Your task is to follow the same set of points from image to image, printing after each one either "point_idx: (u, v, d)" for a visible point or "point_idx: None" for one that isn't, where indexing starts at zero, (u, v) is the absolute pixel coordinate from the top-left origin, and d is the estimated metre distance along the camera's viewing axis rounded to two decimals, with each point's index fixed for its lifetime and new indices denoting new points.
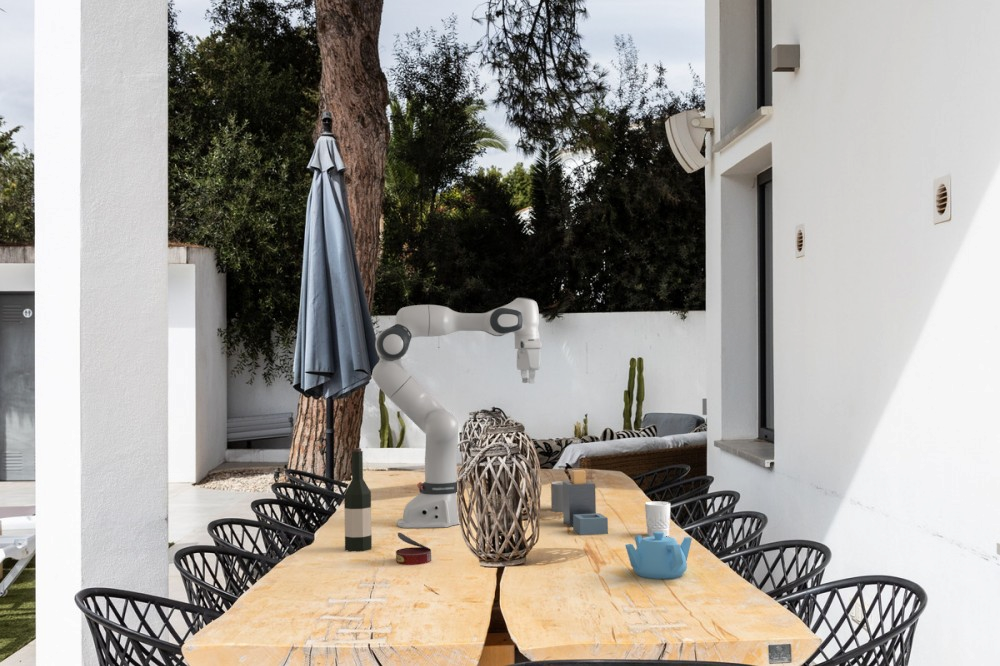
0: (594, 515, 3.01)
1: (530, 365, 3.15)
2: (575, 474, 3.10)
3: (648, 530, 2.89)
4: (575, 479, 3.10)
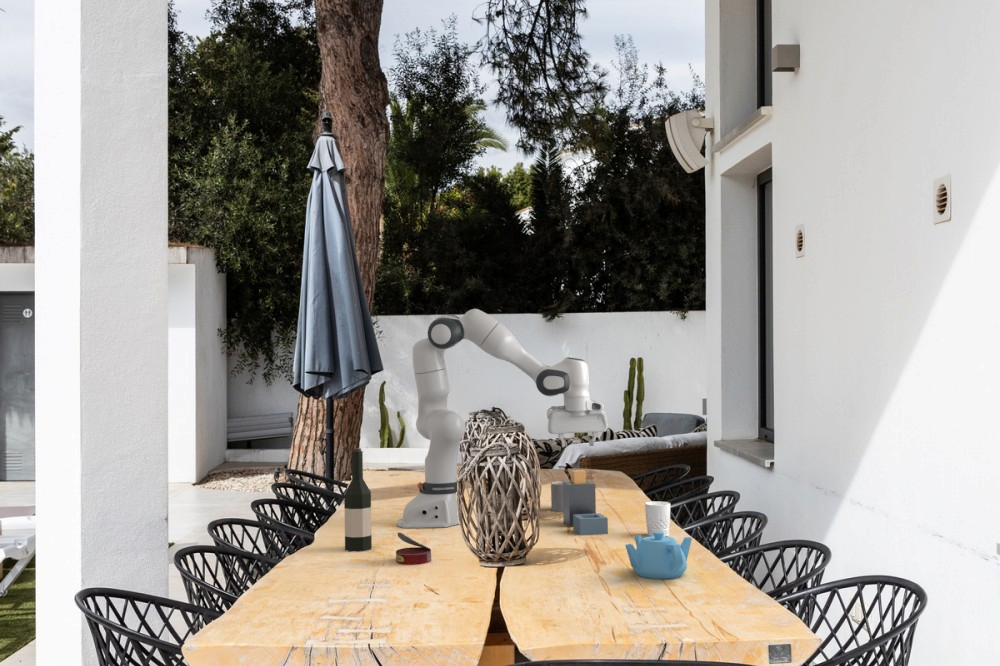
0: (594, 515, 3.01)
1: None
2: (575, 474, 3.10)
3: (648, 530, 2.89)
4: (575, 479, 3.10)
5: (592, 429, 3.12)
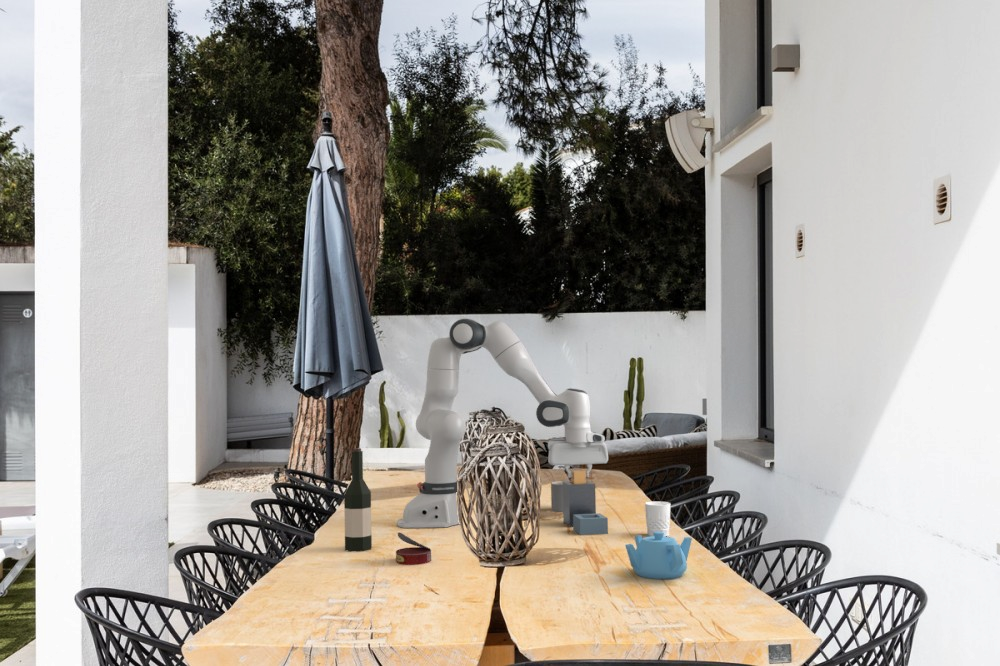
0: (594, 515, 3.01)
1: (607, 458, 3.13)
2: (575, 474, 3.10)
3: (648, 530, 2.89)
4: (575, 479, 3.10)
5: (593, 461, 3.11)
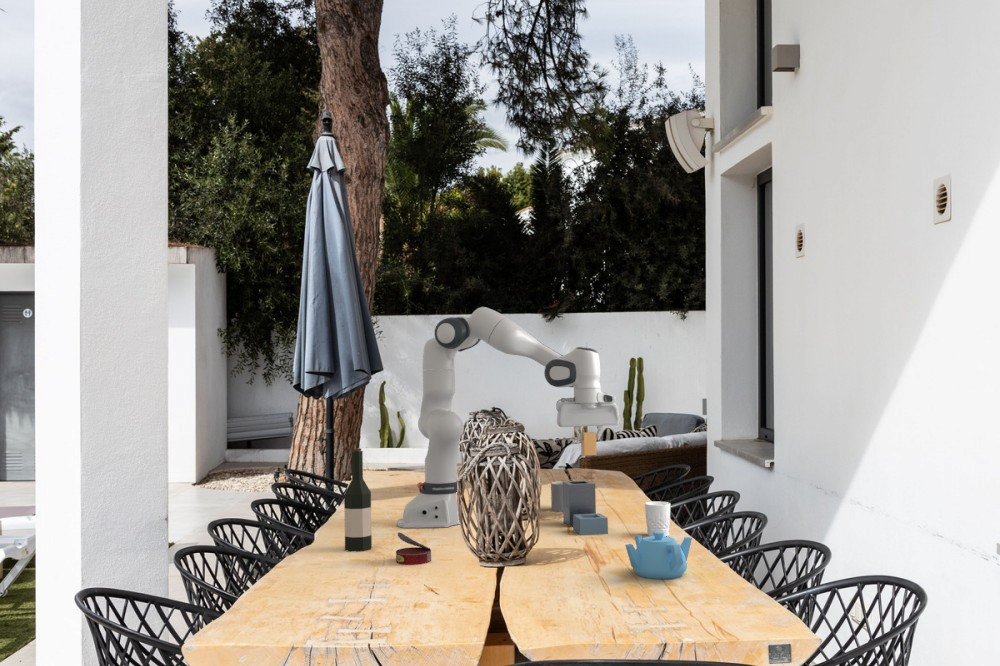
0: (594, 515, 3.01)
1: None
2: (585, 436, 2.97)
3: (648, 530, 2.89)
4: (585, 441, 2.97)
5: (603, 422, 2.98)
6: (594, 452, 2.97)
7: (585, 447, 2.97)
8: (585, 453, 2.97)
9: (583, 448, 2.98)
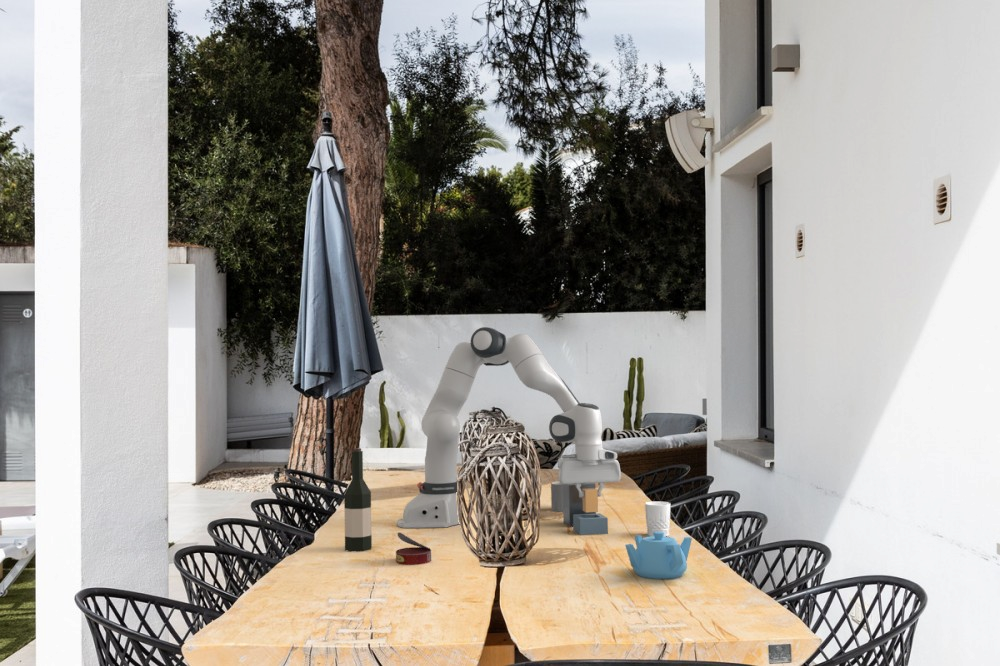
0: (594, 515, 3.01)
1: (620, 476, 2.99)
2: (586, 493, 2.96)
3: (648, 530, 2.89)
4: (586, 498, 2.96)
5: (605, 479, 2.98)
6: (595, 509, 2.97)
7: (586, 504, 2.96)
8: (586, 510, 2.96)
9: (584, 505, 2.97)
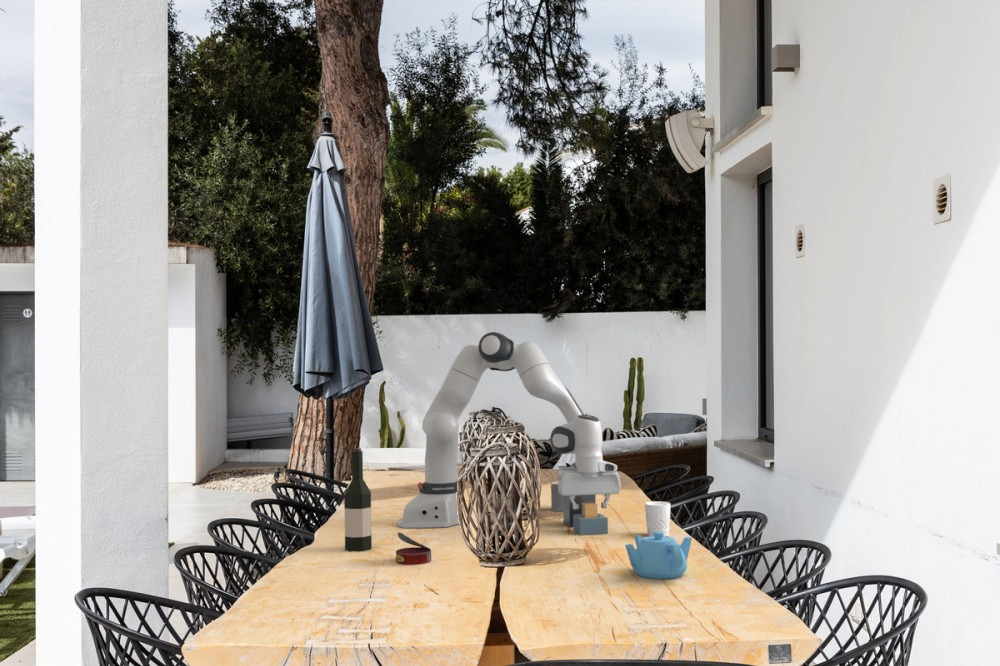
0: None
1: (620, 488, 2.99)
2: (586, 507, 2.96)
3: (648, 530, 2.89)
4: (586, 513, 2.96)
5: (605, 491, 2.97)
6: None
7: None
8: None
9: None
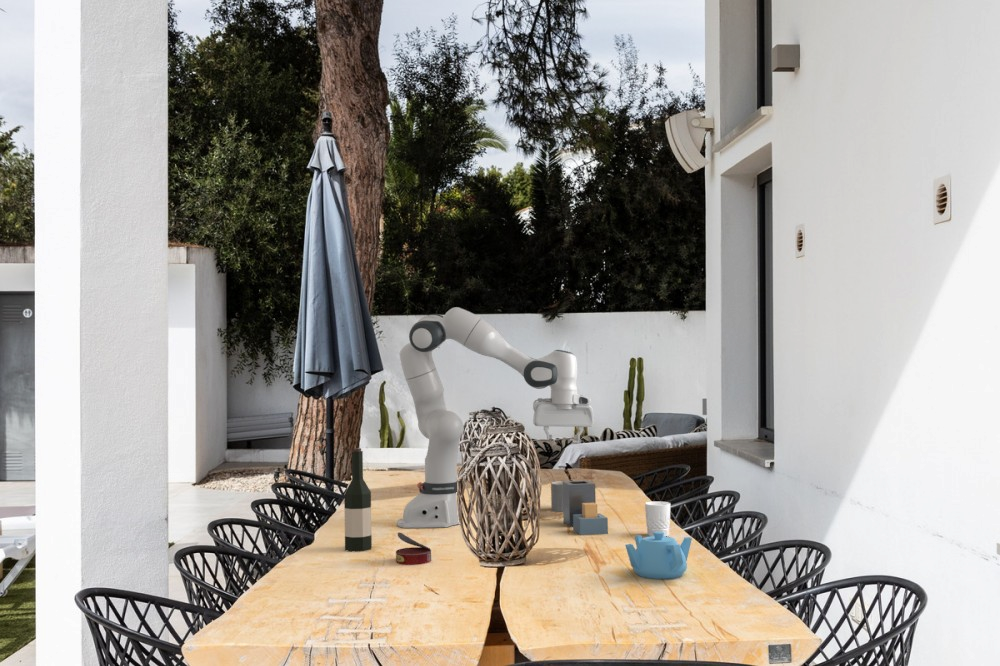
0: None
1: (593, 422, 3.09)
2: (586, 507, 2.96)
3: (648, 530, 2.89)
4: (586, 513, 2.96)
5: (578, 423, 3.08)
6: None
7: None
8: None
9: None
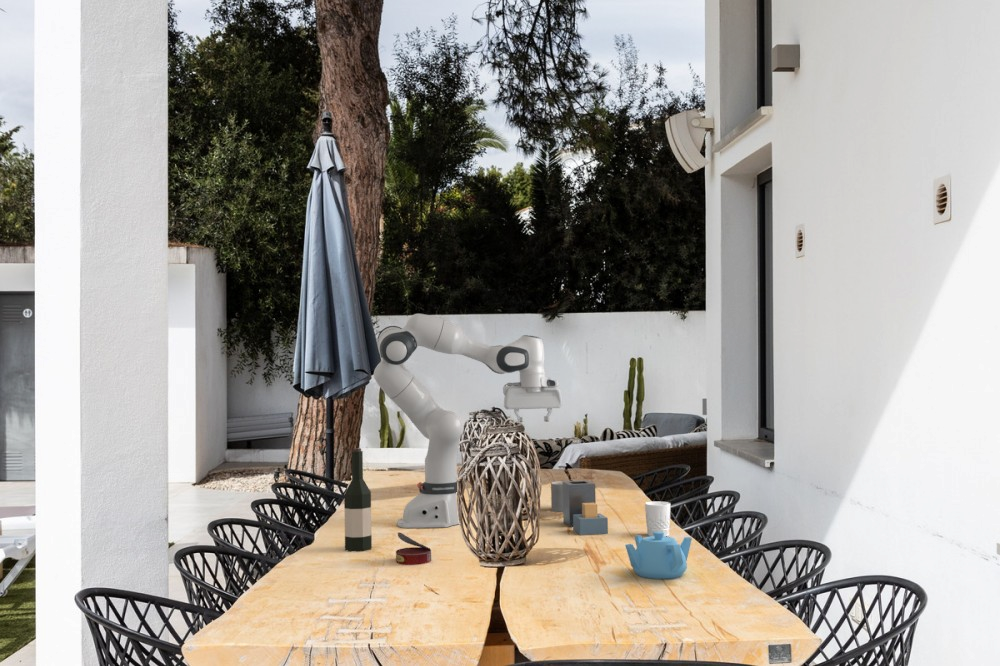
0: None
1: (561, 403, 3.22)
2: (586, 507, 2.96)
3: (648, 530, 2.89)
4: (586, 513, 2.96)
5: (547, 405, 3.21)
6: None
7: None
8: None
9: None
